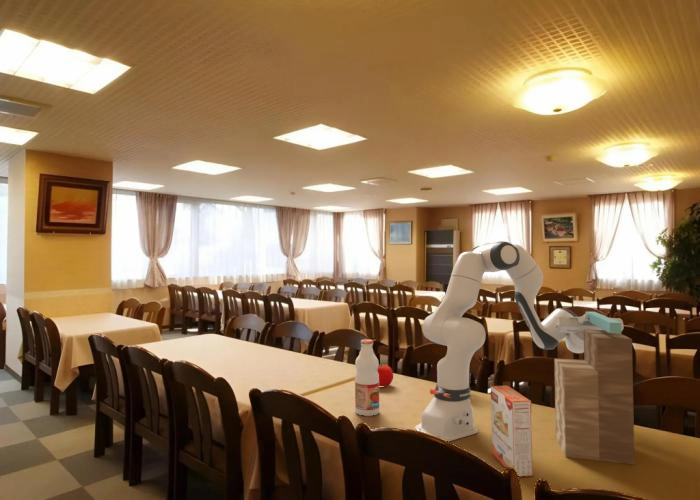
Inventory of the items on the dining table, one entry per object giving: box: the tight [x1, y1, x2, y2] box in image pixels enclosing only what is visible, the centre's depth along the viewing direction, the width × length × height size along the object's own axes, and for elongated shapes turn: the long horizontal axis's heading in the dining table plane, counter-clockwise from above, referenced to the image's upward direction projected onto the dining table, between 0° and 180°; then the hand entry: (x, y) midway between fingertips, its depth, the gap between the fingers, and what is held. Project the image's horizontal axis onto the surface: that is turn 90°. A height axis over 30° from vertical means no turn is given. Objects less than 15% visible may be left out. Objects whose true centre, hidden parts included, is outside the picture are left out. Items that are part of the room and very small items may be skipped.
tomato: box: [377, 363, 394, 387], centre depth 197 cm, size 12×12×10 cm
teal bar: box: [584, 311, 622, 334], centre depth 134 cm, size 26×3×3 cm, turn 164°
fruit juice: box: [354, 338, 380, 417], centre depth 164 cm, size 9×9×28 cm
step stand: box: [553, 330, 635, 465], centre depth 131 cm, size 15×18×36 cm
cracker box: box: [490, 385, 534, 478], centre depth 121 cm, size 14×6×21 cm, turn 5°
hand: (594, 316), depth 142 cm, fingers closed on teal bar, 3 cm apart
